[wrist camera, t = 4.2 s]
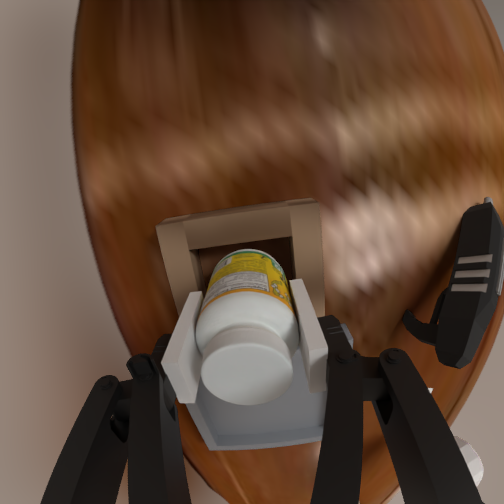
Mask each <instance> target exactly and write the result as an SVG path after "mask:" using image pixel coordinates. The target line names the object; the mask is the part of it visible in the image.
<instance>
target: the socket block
mask: <svg viewBox="0 0 504 504" xmlns="http://www.w3.org/2000/svg"><path fill="white" fill-rule="evenodd" d="M156 231H157V235H158V240H159V244H160V248H161V253H162V257H163V261H164V265H165V269H166V272H167V276H168V280H169V284H170V287H171V291H172V294H173V298H174V301H175V305H176V308H177V312H178V315H179V317H180V315H181V312H182V310H183V308H184V305H185V303H186V301H187V298H188V296H189V294H190V292H198V291H202V294H203V298H204V299H205V295H206V292H207V290H206V286H205V281H204V277H203V272H202V267H201V263H200V258H199V253H198V249H200V248H207V247H214V246H221V245H229V244H236V243H243V242H251V241H258V240H266V239H273V238H281V237H288V236H289V246H290V256H291V267H292V278H293V280H295V279H302V280H303V283H304V285H305V288H306V290H307V293H308V296H309V298H310V301H311V303H312V306H313V309H314V311H315V314H316V316H317V317H323V316H325V293H324V265H323V246H322V231H321V217H320V205H319V202H317V201H316V200H314V199H312V198H304V199H296V200H287V201H279V202H271V203H264V204H256V205H249V206H242V207H235V208H228V209H221V210H215V211H208V212H202V213H196V214H190V215H184V216H178V217H172V218H167V219H165V220H163V221H162V222H161V223H159V224H158V225H156ZM298 345H299V344H298Z"/></svg>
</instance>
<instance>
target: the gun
mask: <svg viewBox="0 0 504 504" xmlns="http://www.w3.org/2000/svg"><path fill="white" fill-rule="evenodd" d="M503 278H504V227H503V224H502V222H501V220H500V217H499V215H498V213H497V211H496V210H495V208H494V206H493V201H492V199H491V198H490V197H486V198H484V203H483V204H480V205H476V206H472V207H470V208H469V209H468V210H467V211H466V212H465V213H464V214H463V219H462V226H461V232H460V238H459V243H458V248H457V253H456V258H455V262H454V266H453V271H452V275H451V278H450V282H449V286H448V287H447V288H446V289H445V290H444V291H443V292H442V293H441V295H440V296H439V297H438V300H437V303H436V306H435V309H434V312H433V315H432V318H431V320H430V323H429V324H427V323H424V324H423V323H422V322H421V321H418V320H417V319H416V318H415V316H414V315H413V313H411V312H410V311H409V310H408V309H407V310H406V312H405V314H404V317H403V319H402V321H403V323H404V325H405V327H406V329H407V330H408V331H409V332H410V333H411V334H412V335H413V336H415V337H416V338H417V339H418V340H420V341H421V342H423V343H427V344H430V345H433V346H435V350H436V354H437V357H438V360H439V362H441V363H442V364H444V365H446V366H450V367H454V368H458V369H461V368H462V367H464V366H466V365H467V364H469V363H470V362H471V361H472V359H473V357H474V355H475V353H476V350H477V348H478V346H479V344H480V341H481V339H482V337H483V334H484V332H485V330H486V328H487V326H488V324H489V322H490V320H491V318H492V316H493V313H494V311H495V309H496V305H497V300H498V296H500V295H501V289H502V284H503ZM438 319H439V323H438V324H437V322H438Z"/></svg>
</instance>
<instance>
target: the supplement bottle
mask: <svg viewBox="0 0 504 504" xmlns="http://www.w3.org/2000/svg"><path fill="white" fill-rule="evenodd" d="M299 335H300V333H299V326H298V322H297V318H296V314H295V311H294V307H293V303H292V299H291V296H290V292H289V288H288V284H287V280H286V277H285V274H284V271H283V269H282V268H281V266H280V265H279V264H278V263H277V261H276V260H275V259H274V258H273V257H271V256H270V255H268V254H267V253H265V252H263V251H260V250H255V249H242V250H237V251H234V252H232V253H230V254H228V255H227V256H225V257H224V258H223V259H222V260H221V261H220V262H219V263H218V264H217V265H216V267H215V269H214V271H213V273H212V276H211V279H210V282H209V286H208V289H207V292H206V295H205V299H204V302H203V305H202V308H201V311H200V315H199V318H198V322H197V326H196V342H197V346H198V349H199V351H200V353H201V355H202V356H203V360H202V366H201V378H202V381H203V383H204V385H205V387H206V388H207V389H208V390H209V391H210V392H211V393H212V394H213V395H215V396H216V397H218V398H220V399H222V400H224V401H226V402H230V403H233V404H238V405H258V404H263V403H267V402H270V401H272V400H275V399H276V398H278V397H280V396H281V395H282V394H283V393H284V392H285V391H286V390H287V389H288V388H289V386H290V385H291V382H292V379H293V366H292V357H293V356H294V354H295V352H296V350H297V347H298V344H299Z"/></svg>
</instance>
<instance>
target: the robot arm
mask: <svg viewBox="0 0 504 504" xmlns="http://www.w3.org/2000/svg"><path fill="white" fill-rule="evenodd" d="M289 281H290V292H291V299H292V303H293V307H294V311H295V314H296V318H297V322H298V326H299V333H300V335H299V347H300V352H301V356H302V360H303V365H304V369H305V374H306V378H307V383H308V387H309V392H310V394H311V393H317V392H322V391H326V384H327V388H328V392H327V402H326V411H325V419H324V427H323V435H322V442H321V448H320V455H319V461H318V467H317V472H316V478H315V483H314V488H313V493H312V498H311V502H310V504H358V503H359V494H360V484H361V471H362V452H363V401H372V404H373V407H374V409H375V412H376V415H377V418H378V420H379V423H380V426H381V429H382V432H383V435H384V438H385V441H386V444H387V447H388V450H389V453H390V456H391V459H392V462H393V465H394V468H395V471H396V475H397V478H398V481H399V485H400V488H401V491H402V495H403V499H404V502H405V504H485V503H483V502H482V500H481V497H480V495H479V492H478V490H477V487H476V485H475V482H474V480H473V477H472V475H471V473H470V470H469V468H468V466H467V464H466V461H465V459H464V457H463V455H462V453H461V451H460V449H459V446H458V444H457V442H456V440H455V438H454V436H453V434H452V432H451V430H450V428H449V426H448V424H447V422H446V421H445V419H444V417H443V415H442V413H441V411H440V409H439V408H438V406H437V404H436V402H435V400H434V398H433V397H432V395H431V393H430V391H429V390H428V388H427V386H426V384H425V383H424V381H423V379H422V378H421V376H420V374H419V373H418V371H417V369H416V368H415V366H414V364H413V363H412V361H411V359H410V358H409V356H408V355H407V353H406V352H405V351H403V350H401V349H397V348H390V349H387V350H384V351H383V352H382V353H381V354H380V357H363V356H360V354H359V353H358V352H357V351H356V350H353V349H352V347H351V345H350V343H349V341H348V339H347V337H346V334H345V332H344V330H343V328H342V327H341V324H340V322H339V320H338V319H337V318H335V317H334V316H333V315H329V316H323V317H317V316H316V314H315V311H314V309H313V306H312V303H311V301H310V298H309V296H308V293H307V290H306V288H305V285H304V283H303V280H302V279H295V280H289ZM203 302H204V298H203V294H202V291H198V292H190V294H189V296H188V298H187V301H186V303H185V305H184V308H183V310H182V312H181V315H180V317H179V320H178V322H177V324H176V327H175V329H174V332H173V334H164V335H163V336H161V337H160V338H159V339H158V341H157V343H156V345H155V347H154V350H153V352H152V354H151V355H150V354H146V353H144V354H138V355H135V356H133V357H132V358H130V359H129V360H128V362H127V364H126V366H127V368H128V370H129V371H130V373H131V375H132V377H133V379H131V380H126V381H121V382H119V381H118V379H117V378H116V377H115V376H112V375H106V376H104V377H101V378H100V379H98V381H97V382H96V383H95V385H94V387H93V388H92V390H91V392H90V394H89V396H88V398H87V400H86V402H85V404H84V406H83V407H82V410H81V411H80V413H79V416H78V418H77V419H76V421H75V424H74V426H73V428H72V430H71V432H70V434H69V436H68V438H67V440H66V443H65V445H64V447H63V449H62V451H61V454H60V456H59V458H58V460H57V463H56V465H55V467H54V470H53V472H52V475H51V477H50V480H49V482H48V485H47V488H46V490H45V493H44V495H43V498H42V501H41V504H115V503H116V499H117V495H118V491H119V487H120V484H121V480H122V476H123V473H124V469H125V465H126V462H127V458H128V496H129V504H192V503H191V499H190V494H189V489H188V483H187V478H186V471H185V465H184V459H183V452H182V445H181V438H180V429H179V421H178V411H177V407H176V405H175V403H174V402H175V399H176V396H177V398H178V401H179V402H180V403H195V399H196V395H197V390H198V385H199V380H200V375H201V366H202V360H203V356H202V355H201V353H200V351H199V349H198V346H197V342H196V326H197V322H198V318H199V315H200V311H201V308H202V305H203ZM112 415H113V416H112ZM111 417H112V418H111Z"/></svg>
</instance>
